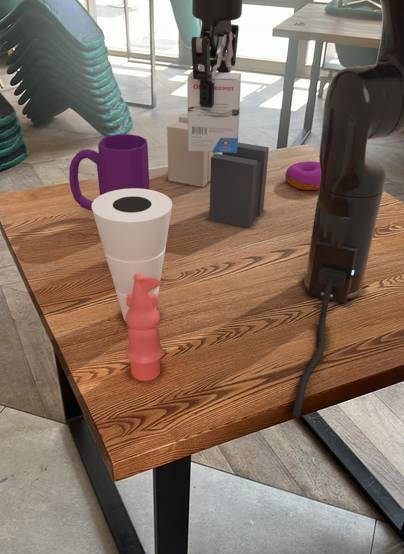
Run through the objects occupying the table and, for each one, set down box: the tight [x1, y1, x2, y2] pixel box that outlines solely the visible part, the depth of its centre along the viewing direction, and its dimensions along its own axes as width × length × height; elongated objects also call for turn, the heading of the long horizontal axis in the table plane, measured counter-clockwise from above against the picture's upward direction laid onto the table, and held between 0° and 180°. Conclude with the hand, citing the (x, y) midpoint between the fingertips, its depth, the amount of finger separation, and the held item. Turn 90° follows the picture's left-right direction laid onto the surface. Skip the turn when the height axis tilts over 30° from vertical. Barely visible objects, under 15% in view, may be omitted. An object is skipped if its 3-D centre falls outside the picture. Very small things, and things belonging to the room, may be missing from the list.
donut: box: [284, 160, 321, 191], centre depth 126 cm, size 10×10×5 cm
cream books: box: [166, 113, 220, 188], centre depth 127 cm, size 8×9×12 cm
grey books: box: [208, 141, 270, 229], centre depth 111 cm, size 8×9×13 cm
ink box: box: [186, 70, 242, 154], centre depth 96 cm, size 8×5×12 cm, turn 84°
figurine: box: [124, 274, 164, 382], centre depth 73 cm, size 5×5×15 cm
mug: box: [68, 133, 151, 212], centre depth 109 cm, size 9×16×15 cm, turn 83°
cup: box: [91, 188, 173, 322], centre depth 82 cm, size 11×11×18 cm
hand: (214, 101), depth 95 cm, fingers closed on ink box, 5 cm apart
